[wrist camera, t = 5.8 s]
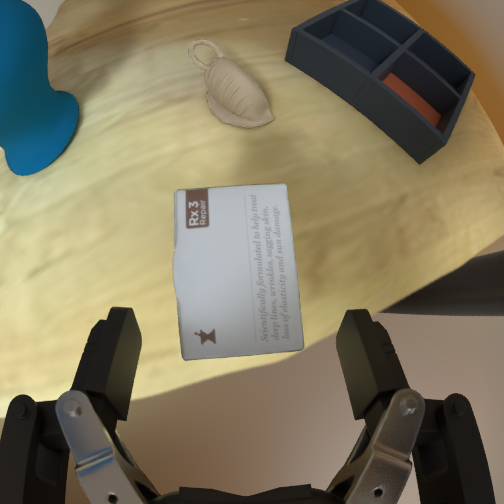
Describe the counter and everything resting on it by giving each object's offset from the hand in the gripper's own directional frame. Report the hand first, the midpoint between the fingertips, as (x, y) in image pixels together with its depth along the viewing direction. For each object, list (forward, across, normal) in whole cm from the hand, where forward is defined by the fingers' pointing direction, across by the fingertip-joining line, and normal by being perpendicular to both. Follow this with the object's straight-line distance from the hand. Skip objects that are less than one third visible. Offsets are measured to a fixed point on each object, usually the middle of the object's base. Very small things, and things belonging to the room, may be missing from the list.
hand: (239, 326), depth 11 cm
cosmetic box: (+9, 0, +6) cm, 11 cm away
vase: (+19, +20, -4) cm, 28 cm away
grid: (+25, -16, -10) cm, 32 cm away
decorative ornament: (+20, +1, -5) cm, 21 cm away
